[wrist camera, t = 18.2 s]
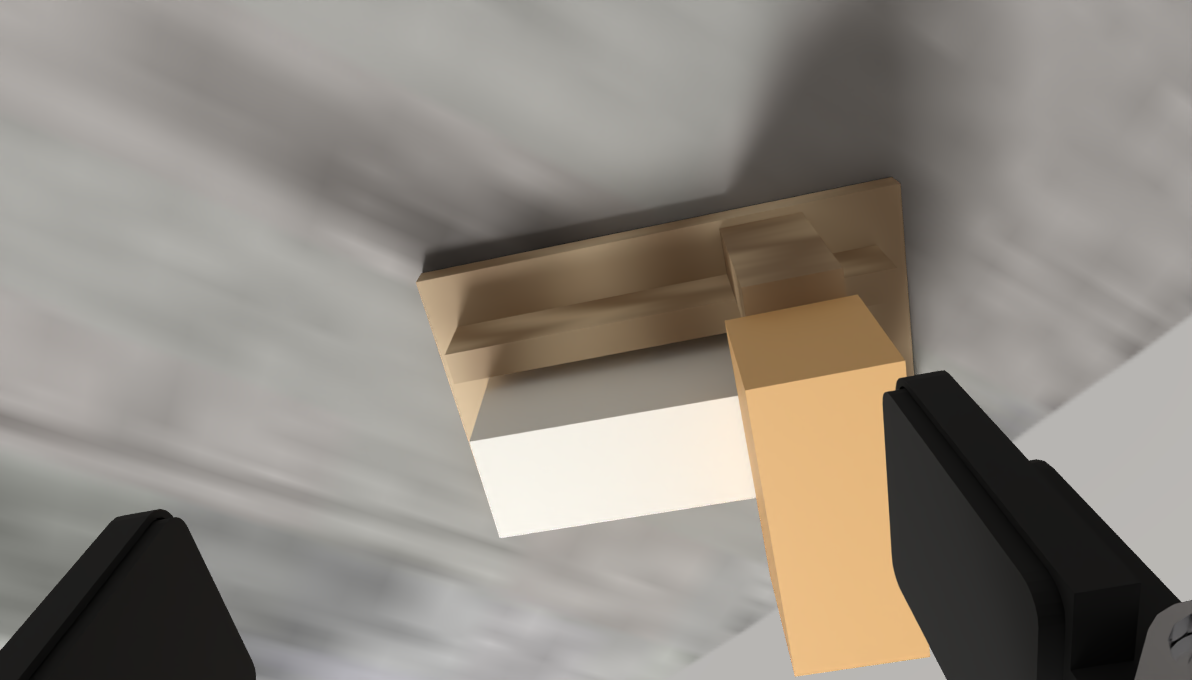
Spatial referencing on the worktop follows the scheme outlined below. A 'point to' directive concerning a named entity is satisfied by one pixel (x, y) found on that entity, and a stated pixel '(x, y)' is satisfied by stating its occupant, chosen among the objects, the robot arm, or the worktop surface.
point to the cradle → (668, 285)
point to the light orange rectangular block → (824, 479)
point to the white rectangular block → (613, 438)
